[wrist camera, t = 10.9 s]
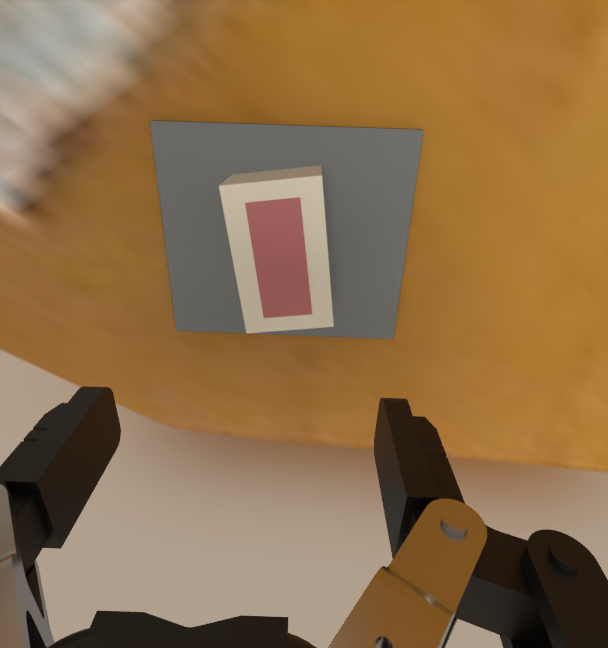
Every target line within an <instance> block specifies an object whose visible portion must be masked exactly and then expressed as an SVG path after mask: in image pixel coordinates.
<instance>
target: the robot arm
mask: <svg viewBox="0 0 608 648" xmlns="http://www.w3.org/2000/svg"><path fill="white" fill-rule="evenodd" d="M120 435H121V428H120V423H119V419H118V414H117V409H116V405H115V400H114V396H113V392H112V390H111V389H110V388H109V387H81V388H80V389H79V390H78V391H77V392H76V393H75V395H74V396H73V397H72V398H71V400H70V401H69V402H68V403H61V404H60V405H58V406H57V407H55V408H54V409H52V410H51V411H49V412H48V413H46V414H45V415H44V416H43V417H42V418H41V419H40V420H39V422H38V423H37V424H36V425H35V426H34V428H33V430H32V431H30V432H29V433H28V435H27V436H26V437H25V438H24V441H23V442H21V443H20V444H19V445H18V446H17V448H16V449H15V450H14V451H13V452H12V453H11V454H10V456H9V457H8V458H7V459H6V460H5V462H4V463H3V464H2V465H1V467H0V648H316V647H315V646H313V645H312V644H310V643H309V642H307V641H305V640H303V639H301V638H300V637H298V636H295V635H292V634H290V633H288V617H264V616H238V617H234V618H230V619H226V620H222V621H217V622H213V623H209V624H206V625H201V626H197V627H192V628H189V627H184V626H181V625H178V624H176V623H173V622H170V621H167V620H164V619H162V618H159V617H156V616H153V615H150V614H147V613H144V612H119V611H97V612H96V615H95V617H94V619H93V622H92V624H91V627H90V628H88V629H84V630H82V631H79V632H76V633H74V634H71V635H69V636H67V637H65V638H63V639H61V640H59V641H57V642H55V643H54V641H53V637H52V634H51V630H50V626H49V621H48V615H47V610H46V605H45V599H44V595H43V589H42V584H41V578H40V573H39V568H38V564H37V561H36V558H37V556H38V555H39V553H40V551H41V550H42V548H61V547H62V545H63V544H64V542H65V540H66V538H67V537H68V535H69V533H70V531H71V530H72V528H73V526H74V524H75V522H76V521H77V519H78V517H79V515H80V514H81V512H82V510H83V508H84V506H85V505H86V503H87V501H88V499H89V497H90V496H91V494H92V492H93V490H94V489H95V487H96V485H97V483H98V481H99V479H100V478H101V476H102V474H103V473H104V471H105V469H106V467H107V465H108V464H109V461H110V460H111V458H112V456H113V455H114V453H115V451H116V449H117V447H118V444H119V441H120ZM374 455H375V462H376V467H377V473H378V479H379V484H380V490H381V495H382V501H383V507H384V511H385V518H386V523H387V529H388V535H389V540H390V545H391V551H392V557H393V560H392V562H391V564H390V565H389V566H388V567H387V568H386V567H384V566H383V567H381V568H380V569H379V570H378V572H377V573H376V575H375V576H374V577H373V579H372V580H371V582H370V584H369V585H368V587H367V588H366V590H365V591H364V593H363V594H362V596H361V597H360V599H359V601H358V602H357V604H356V605H355V607H354V608H353V610H352V611H351V613H350V615H349V616H348V617H347V619H346V620H345V622H344V624H343V625H342V627H341V628H340V630H339V631H338V633H337V634H336V636H335V637H334V639H333V641H332V642H331V644H330V645H329V647H328V648H445V647H446V645H447V643H448V640H449V638H450V636H451V633H452V631H453V629H454V626H455V624H456V622H457V619H460V620H463V621H466V622H468V623H471V624H473V625H476V626H478V627H481V628H484V629H486V630H489V631H492V632H494V633H497V634H499V635H500V638H501V641H502V645H503V648H608V580H607V578H606V576H605V575H604V573H603V571H602V569H601V567H600V566H599V564H598V562H597V560H596V559H595V557H594V556H593V555H592V554H591V553H590V551H589V550H588V549H587V548H586V547H585V546H583V545H582V544H581V543H580V542H578V541H577V540H575V539H574V538H572V537H570V536H568V535H566V534H563V533H561V532H558V531H555V530H539V531H536V532H534V533H533V534H532V535H531V536H530V538H529V540H528V541H527V540H524V539H521V538H518V537H515V536H511V535H508V534H505V533H502V532H499V531H497V530H494V529H492V528H490V527H488V526H486V525H485V523H484V522H483V520H482V518H481V517H480V516H479V514H477V512H475V511H474V510H473V509H472V508H470V507H469V506H468V505H466V504H465V502H464V500H463V497H462V495H461V492H460V489H459V487H458V484H457V482H456V479H455V477H454V474H453V471H452V469H451V466H450V463H449V461H448V458H446V453H445V450H444V448H443V446H442V442H441V440H440V437H439V435H438V432H437V429H436V428H435V427H434V426H433V425H432V424H431V423H430V422H429V421H428V420H427V419H426V418H425V417H416V416H412V413H411V410H410V406H409V403H408V401H407V399H398V398H381V399H380V403H379V410H378V417H377V423H376V430H375V437H374Z"/></svg>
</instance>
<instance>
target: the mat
mask: <svg viewBox="0 0 608 648" xmlns="http://www.w3.org/2000/svg"><path fill="white" fill-rule="evenodd" d="M150 127H151V135H152V143H153V151H154V159H155V167H156V175H157V183H158V190H159V198H160V206H161V214H162V222H163V230H164V238H165V245H166V253H167V261H168V269H169V277H170V285H171V293H172V300H173V308H174V316H175V324H176V331H196V332H222V333H246V328H245V323H244V318H243V312H242V307H241V302H240V296H239V291H238V286H237V280H236V275H235V270H234V264H233V259H232V254H231V248H230V243H229V238H228V232H227V227H226V222H225V216H224V211H223V206H222V200H221V195H220V190H219V185H220V184H222V183H223V182H224V181H225V180H226V179H227V178H229V177H230V176H231V175H232V174H242V173H252V172H261V171H271V170H280V169H290V168H300V167H309V166H319V165H321V170H322V182H323V195H324V207H325V220H326V233H327V246H328V259H329V272H330V284H331V297H332V310H333V323H334V327H324V328H311V329H298V330H285V331H272V332H260V333H249V334H276V335H303V336H330V337H357V338H383V339H393V336H394V329H395V322H396V315H397V308H398V302H399V295H400V288H401V281H402V274H403V267H404V261H405V254H406V247H407V240H408V233H409V226H410V219H411V213H412V206H413V199H414V192H415V185H416V178H417V172H418V165H419V158H420V151H421V144H422V137H423V131H424V130H422V129H394V128H364V127H334V126H303V125H273V124H243V123H213V122H183V121H150Z"/></svg>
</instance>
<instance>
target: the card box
mask: <svg viewBox="0 0 608 648" xmlns="http://www.w3.org/2000/svg"><path fill="white" fill-rule="evenodd" d="M219 190H220V195H221V200H222V206H223V211H224V216H225V222H226V227H227V232H228V238H229V243H230V248H231V254H232V259H233V264H234V270H235V275H236V280H237V286H238V291H239V296H240V302H241V307H242V312H243V318H244V323H245V328H246V334H247V333H260V332H272V331H285V330H298V329H311V328H324V327H334V323H333V310H332V297H331V284H330V272H329V259H328V246H327V233H326V220H325V207H324V195H323V182H322V170H321V165H319V166H309V167H300V168H290V169H280V170H271V171H261V172H252V173H242V174H232V175H231V176H230V177H229V178H227V179H226V180H225V181H224V182H223V183H222V184H220V185H219Z"/></svg>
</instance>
